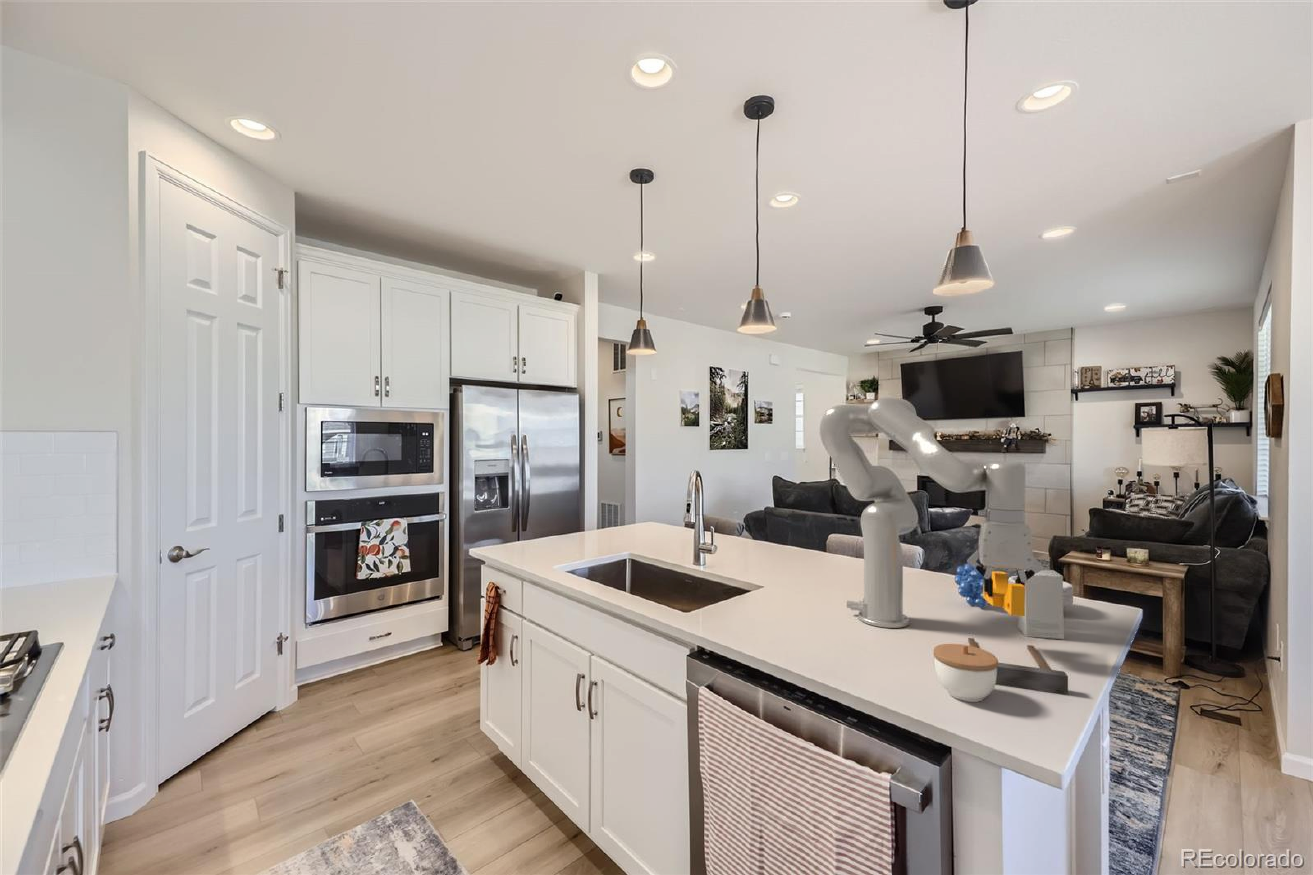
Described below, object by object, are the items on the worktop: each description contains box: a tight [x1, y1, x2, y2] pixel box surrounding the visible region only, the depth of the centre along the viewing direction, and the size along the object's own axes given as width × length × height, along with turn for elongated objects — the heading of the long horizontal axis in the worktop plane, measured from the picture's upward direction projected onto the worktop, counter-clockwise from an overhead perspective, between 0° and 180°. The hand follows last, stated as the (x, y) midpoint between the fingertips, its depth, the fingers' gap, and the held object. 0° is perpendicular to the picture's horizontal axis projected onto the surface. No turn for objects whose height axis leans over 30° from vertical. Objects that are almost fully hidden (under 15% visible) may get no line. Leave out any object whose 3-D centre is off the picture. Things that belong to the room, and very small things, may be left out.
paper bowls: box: [1007, 575, 1074, 610], centre depth 157 cm, size 15×15×8 cm
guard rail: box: [967, 637, 1069, 696], centre depth 118 cm, size 14×24×4 cm, turn 157°
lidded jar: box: [933, 643, 999, 703], centre depth 105 cm, size 11×11×9 cm
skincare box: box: [1018, 569, 1065, 640], centre depth 136 cm, size 8×7×16 cm
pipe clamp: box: [983, 570, 1025, 617], centre depth 125 cm, size 12×4×6 cm, turn 166°
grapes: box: [954, 562, 989, 609], centre depth 159 cm, size 12×7×12 cm, turn 19°
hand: (1003, 596), depth 124 cm, fingers closed on pipe clamp, 4 cm apart
